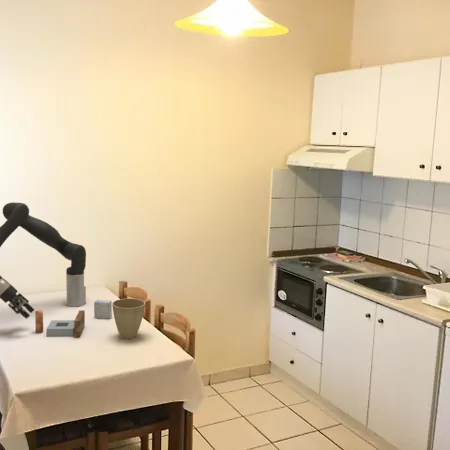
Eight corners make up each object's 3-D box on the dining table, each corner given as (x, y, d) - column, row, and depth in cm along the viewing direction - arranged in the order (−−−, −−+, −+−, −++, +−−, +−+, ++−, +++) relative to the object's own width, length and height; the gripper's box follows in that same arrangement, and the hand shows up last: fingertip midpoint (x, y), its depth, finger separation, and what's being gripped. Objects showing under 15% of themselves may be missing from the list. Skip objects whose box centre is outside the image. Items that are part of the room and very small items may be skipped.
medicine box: (111, 316, 288) (111, 300, 287) (109, 319, 284) (109, 302, 283) (96, 315, 289) (96, 299, 288) (94, 318, 285) (93, 301, 283)
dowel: (41, 330, 266) (40, 309, 264) (44, 332, 263) (44, 311, 262) (34, 331, 263) (33, 311, 262) (37, 333, 261) (37, 312, 259)
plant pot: (113, 343, 253) (113, 308, 250) (111, 331, 267) (111, 299, 264) (146, 340, 257) (147, 307, 254) (142, 329, 271) (142, 297, 268)
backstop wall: (74, 337, 258) (74, 320, 256) (79, 326, 272) (79, 310, 271) (79, 337, 258) (79, 320, 257) (84, 326, 273) (84, 310, 271)
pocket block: (46, 337, 258) (46, 329, 257) (51, 328, 270) (51, 320, 269) (73, 337, 259) (73, 328, 259) (77, 328, 271) (77, 320, 270)
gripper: (5, 288, 252) (32, 313, 255) (14, 280, 266) (39, 304, 269) (-7, 300, 252) (20, 324, 255) (3, 291, 266) (28, 314, 269)
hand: (30, 314), depth 262 cm, fingers open, 8 cm apart
